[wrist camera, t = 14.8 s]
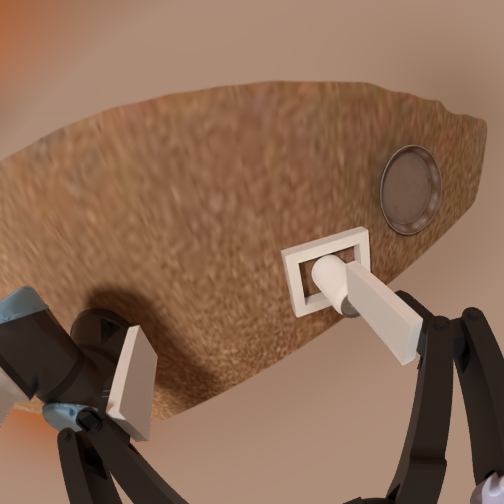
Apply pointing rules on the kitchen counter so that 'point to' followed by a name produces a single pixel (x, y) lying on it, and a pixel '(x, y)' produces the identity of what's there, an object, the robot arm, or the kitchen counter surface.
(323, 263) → the can
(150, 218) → the kitchen counter surface
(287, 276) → the socket collar
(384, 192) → the plant saucer
